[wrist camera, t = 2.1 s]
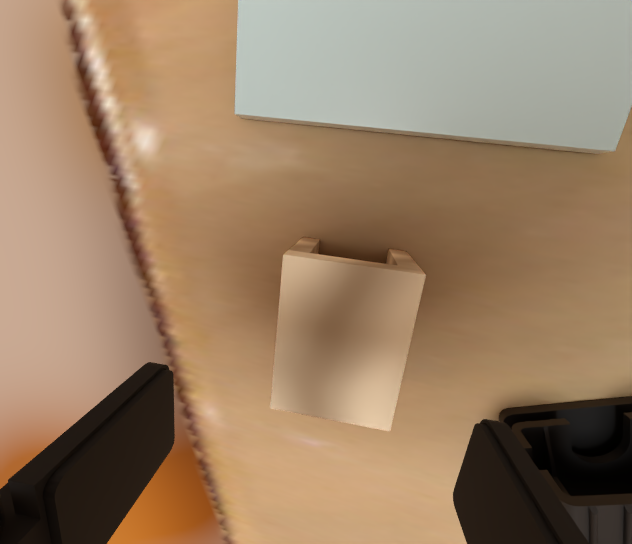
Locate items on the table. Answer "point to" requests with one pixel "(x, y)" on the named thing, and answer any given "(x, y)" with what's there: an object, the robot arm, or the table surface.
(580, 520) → the end cap
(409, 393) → the table surface
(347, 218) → the table surface
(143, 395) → the robot arm
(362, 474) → the table surface
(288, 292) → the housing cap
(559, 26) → the base plate
